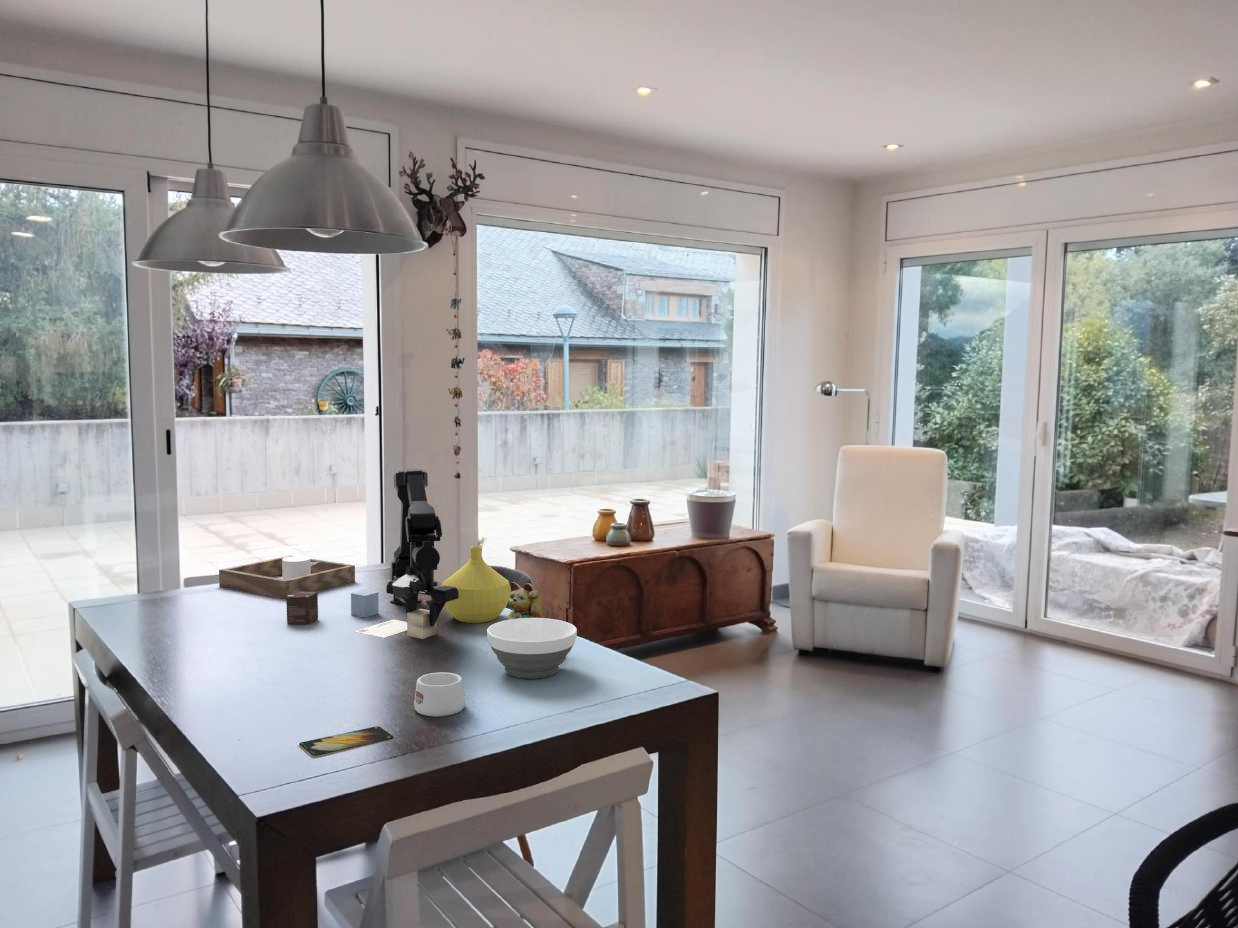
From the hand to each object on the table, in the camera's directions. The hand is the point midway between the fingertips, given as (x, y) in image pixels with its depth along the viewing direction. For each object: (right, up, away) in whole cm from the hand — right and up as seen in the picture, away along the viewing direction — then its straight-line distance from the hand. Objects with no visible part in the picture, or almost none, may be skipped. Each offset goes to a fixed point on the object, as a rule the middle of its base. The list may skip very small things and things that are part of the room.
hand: (422, 624), depth 235 cm
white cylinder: (-49, +3, +54) cm, 73 cm away
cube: (-19, -1, +19) cm, 27 cm away
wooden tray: (-51, +3, +53) cm, 74 cm away
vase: (+11, -2, +17) cm, 20 cm away
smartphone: (+1, -10, -67) cm, 68 cm away
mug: (+13, -8, -49) cm, 52 cm away
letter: (-10, -2, +6) cm, 11 cm away
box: (-33, -1, +11) cm, 35 cm away
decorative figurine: (+26, -4, -4) cm, 27 cm away
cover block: (0, -3, 0) cm, 3 cm away
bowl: (+29, -6, -27) cm, 40 cm away
